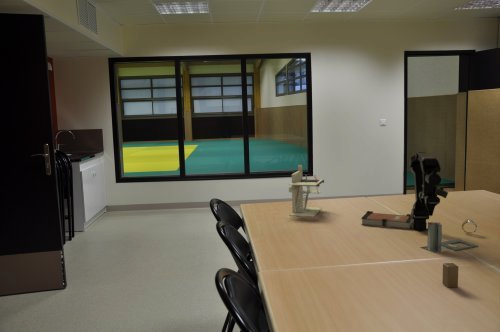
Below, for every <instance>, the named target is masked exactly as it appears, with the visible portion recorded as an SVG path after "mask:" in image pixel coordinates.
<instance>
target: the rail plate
mask: <svg viewBox="0 0 500 332" xmlns="http://www.w3.org/2000/svg"><path fill="white" fill-rule="evenodd" d="M455 244H462V245H465V246H462V247H460V246H457V245H455ZM441 247H442V248H445V249H448V250H451V251H454V252H458V251H463V250H468V249H472V248H479V245H478V244H474V243H472V242H468V241H466V240H462V239H459V238H458V239H457V238H456V239H452V240H446V241H441Z"/></svg>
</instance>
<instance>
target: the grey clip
mask: <svg viewBox="0 0 500 332" xmlns="http://www.w3.org/2000/svg"><path fill="white" fill-rule="evenodd" d="M427 229H428V230H427V245H426V246H427V247H428V249H429V250H433V248H437V250H441V247H442V246H441V242H442V238H443V237H442V236H443V235H442V232H443V231H442V230H443V225H442V224H441V222H436V221H435V222H433V221H431V222H427Z"/></svg>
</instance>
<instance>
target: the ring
mask: <svg viewBox="0 0 500 332" xmlns="http://www.w3.org/2000/svg"><path fill="white" fill-rule="evenodd" d="M467 223H472V224H473V225H474V226H475V229H474V230H473V231H472V232H471V231H467V230H465V228H464V227H465V225H466V224H467ZM461 229H462V231H463V232H464V233H466V234H468V235H472V234H475V233H476V231H477V230H478V225H477V223H476V222H475V221H474V219H471V218H468V219H465V220H464V221H463V223H462V224H461Z"/></svg>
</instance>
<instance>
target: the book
mask: <svg viewBox="0 0 500 332" xmlns="http://www.w3.org/2000/svg"><path fill="white" fill-rule="evenodd" d="M360 225H362V226H370V227H380V228H392V229H401V230H402V229H403V230H410V229H411V228H412V227H411V226H413V219H412V218H411V213H407V214H406V215H404V214H403V215H402V214H392V213H379V212H378V213H376V212H374V211H373V210H372V211H370V210H367V211H366V213H365V214H364V215H363V216H361V223H360Z"/></svg>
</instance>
